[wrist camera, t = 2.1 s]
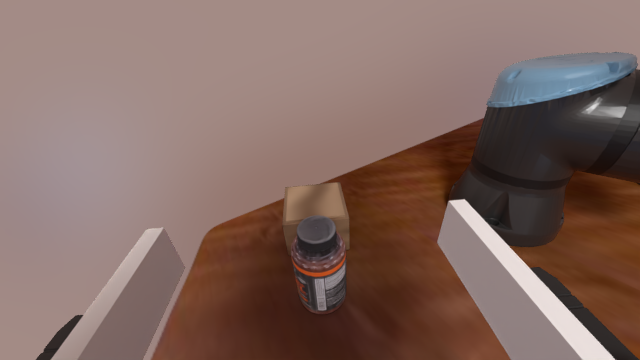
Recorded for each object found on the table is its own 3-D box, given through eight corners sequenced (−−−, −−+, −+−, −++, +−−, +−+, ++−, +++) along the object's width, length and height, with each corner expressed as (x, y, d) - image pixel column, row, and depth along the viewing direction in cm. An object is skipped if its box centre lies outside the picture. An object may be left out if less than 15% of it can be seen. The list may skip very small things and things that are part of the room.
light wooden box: (340, 210, 44) (339, 180, 41) (349, 249, 37) (349, 216, 33) (290, 215, 44) (285, 185, 41) (288, 255, 37) (282, 223, 33)
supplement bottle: (291, 285, 32) (278, 219, 26) (331, 266, 35) (327, 201, 28) (311, 326, 28) (300, 259, 22) (356, 302, 30) (357, 234, 24)
